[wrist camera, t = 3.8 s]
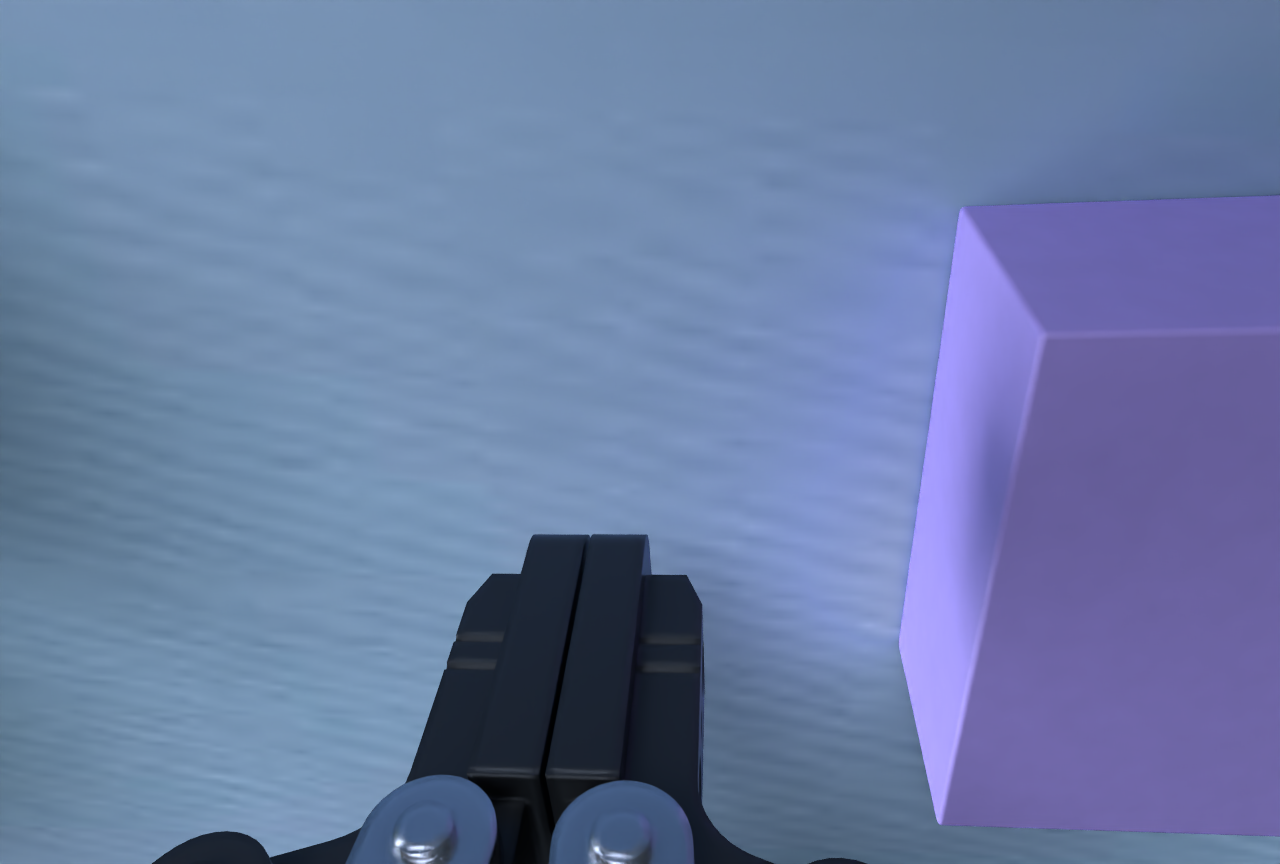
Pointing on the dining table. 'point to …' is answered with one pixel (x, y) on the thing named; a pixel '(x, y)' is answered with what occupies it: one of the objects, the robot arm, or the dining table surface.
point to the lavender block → (1103, 521)
